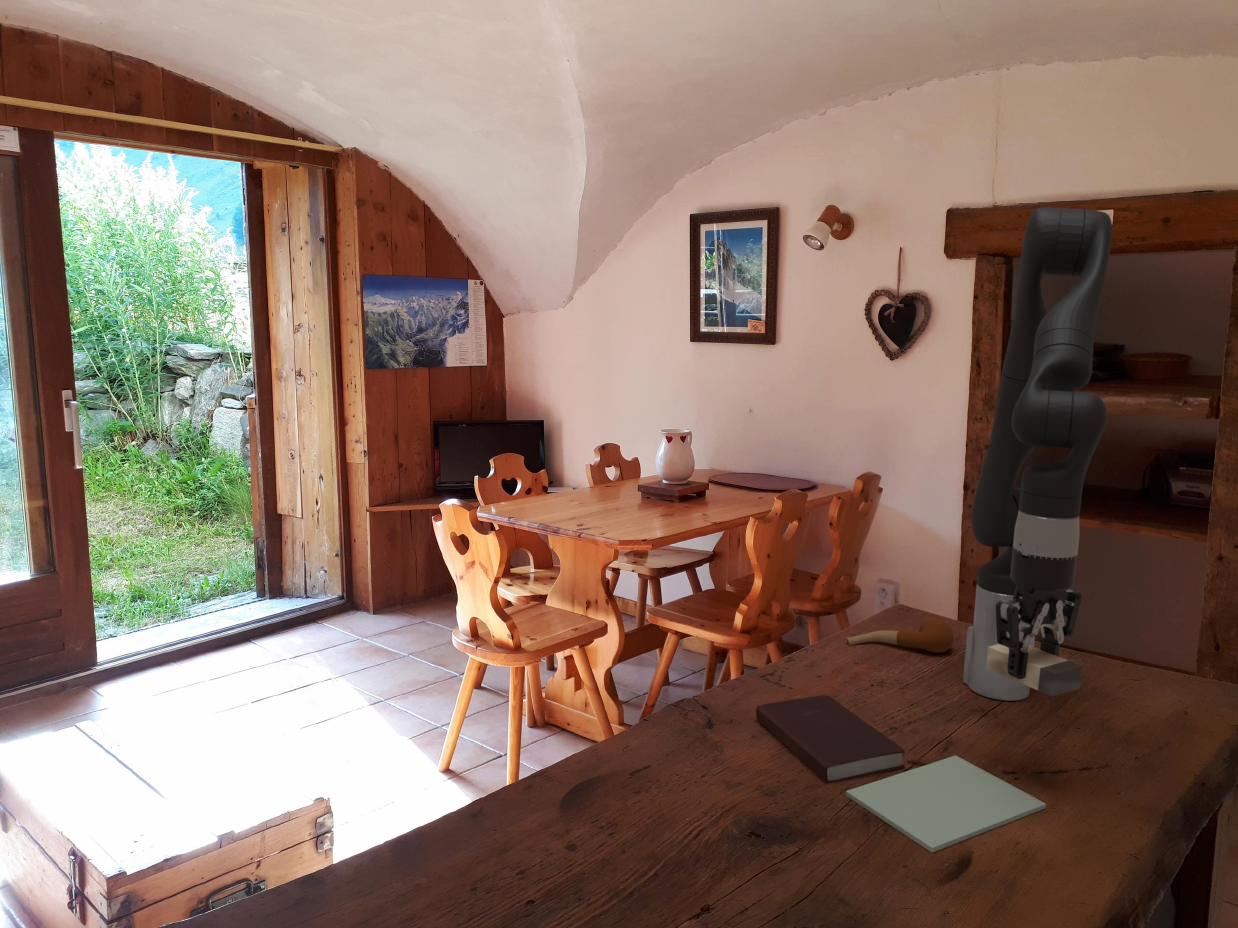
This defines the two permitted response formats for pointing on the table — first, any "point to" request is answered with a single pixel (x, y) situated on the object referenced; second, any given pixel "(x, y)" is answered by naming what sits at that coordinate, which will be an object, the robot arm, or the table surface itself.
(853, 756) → the book
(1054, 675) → the cream rectangular block
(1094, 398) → the robot arm
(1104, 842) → the table surface
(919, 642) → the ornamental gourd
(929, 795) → the rubber mat
